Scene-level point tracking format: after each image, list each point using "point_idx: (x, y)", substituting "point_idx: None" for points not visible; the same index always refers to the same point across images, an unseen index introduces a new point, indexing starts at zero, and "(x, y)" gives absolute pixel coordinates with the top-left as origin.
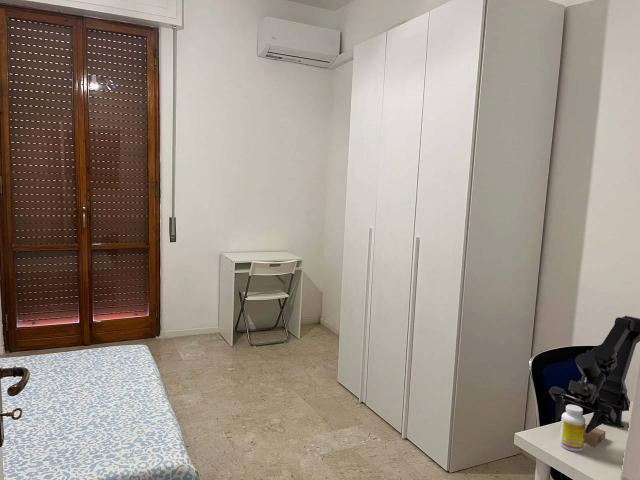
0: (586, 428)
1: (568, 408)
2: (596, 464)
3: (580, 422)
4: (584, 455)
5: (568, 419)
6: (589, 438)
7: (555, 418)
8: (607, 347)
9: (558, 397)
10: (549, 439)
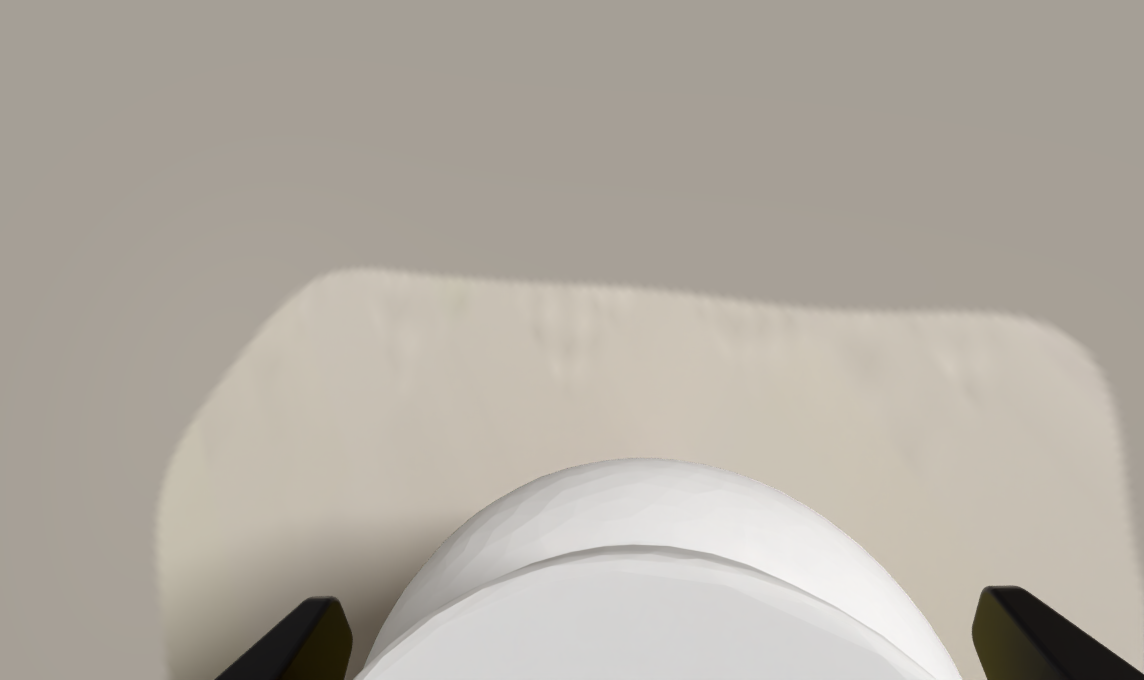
0: (293, 642)
1: (764, 575)
2: (315, 501)
3: (382, 629)
4: None
5: (636, 463)
6: None
7: (1026, 597)
8: None
9: None
10: (904, 573)
